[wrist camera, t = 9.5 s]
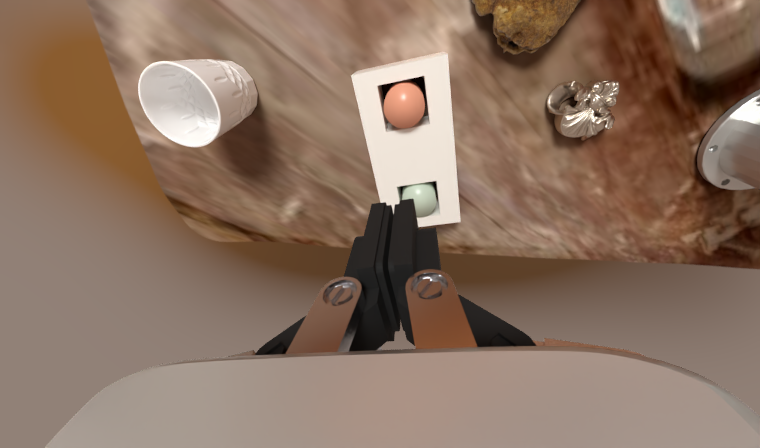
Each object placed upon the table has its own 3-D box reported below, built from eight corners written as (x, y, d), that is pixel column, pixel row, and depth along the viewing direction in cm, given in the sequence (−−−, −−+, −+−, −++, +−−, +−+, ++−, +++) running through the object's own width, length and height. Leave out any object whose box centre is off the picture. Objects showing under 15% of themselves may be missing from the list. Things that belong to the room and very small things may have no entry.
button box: (444, 51, 33) (447, 53, 30) (456, 207, 43) (460, 221, 40) (356, 71, 35) (351, 75, 32) (389, 216, 45) (387, 230, 42)
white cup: (275, 99, 37) (237, 119, 29) (235, 134, 40) (189, 161, 32) (227, 38, 34) (168, 41, 26) (187, 80, 37) (122, 95, 29)
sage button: (432, 171, 40) (434, 184, 37) (436, 200, 43) (438, 214, 39) (400, 176, 41) (399, 189, 38) (405, 204, 43) (404, 218, 40)
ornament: (628, 101, 34) (649, 108, 31) (575, 148, 38) (589, 158, 35) (583, 54, 32) (601, 57, 29) (531, 108, 36) (542, 115, 33)
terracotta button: (420, 75, 34) (422, 80, 30) (425, 115, 36) (427, 124, 33) (382, 84, 34) (379, 89, 31) (389, 122, 37) (387, 131, 33)
